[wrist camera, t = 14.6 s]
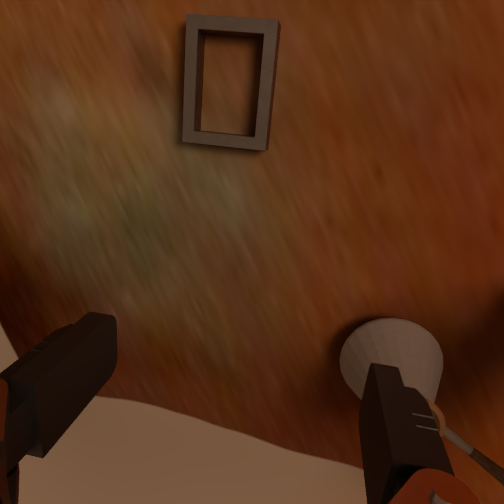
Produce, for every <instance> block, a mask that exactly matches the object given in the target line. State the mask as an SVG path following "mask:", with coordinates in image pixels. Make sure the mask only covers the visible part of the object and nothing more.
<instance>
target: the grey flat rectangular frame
mask: <svg viewBox="0 0 504 504" xmlns="http://www.w3.org/2000/svg"><path fill="white" fill-rule="evenodd" d="M280 29H281V25H280V23H279V20H273V19H258V18H243V17H228V16H213V15H198V14H186V43H185V74H184V105H183V135H182V142H189V143H198V144H207V145H217V146H226V147H235V148H244V149H253V150H263V151H266V150H268V146H269V137H270V127H271V117H272V107H273V98H274V88H275V78H276V68H277V59H278V49H279V39H280ZM205 34H211V35H225V36H239V37H252V38H264V43H263V54H262V65H261V76H260V87H259V98H258V109H257V120H256V131H255V136H248V135H238V134H229V133H219V132H209V131H200V130H201V109H202V88H203V66H204V45H205Z"/></svg>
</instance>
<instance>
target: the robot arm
mask: <svg viewBox="0 0 504 504" xmlns="http://www.w3.org/2000/svg"><path fill="white" fill-rule="evenodd" d="M116 363H117V326H116V319H115V317H114V316H113V315H107V314H102V313H96V312H89V313H87V314H86V315H85V316H83V317H82V318H81V319H80V320H79V321H77V322H76V323H75V324H69V325H67V326H65V327H62V328H60V329H58V330H55V331H54V332H52V333H51V334H50V335H49V336H47V337H46V338H45V339H43V340H42V343H41V342H40V343H38V344H37V345H36V346H34V347H33V348H32V350H29V351H28V352H27V353H26V354H24V355H23V356H22V357H20V358H19V359H18V360H17V361H15V362H14V363H13V364H12V365H10V366H9V367H8V368H7V369H5V370H4V371H3V372H1V373H0V504H18V497H19V461H20V460H21V459H22V458H23V457H24V456H25V455H26V454H27V455H31V456H35V457H40V458H44V456H45V455H46V454H47V453H48V452H49V450H50V449H51V448H52V447H53V446H54V445H55V443H56V442H57V441H58V440H59V438H60V437H61V436H62V435H63V434H64V432H65V431H66V430H67V429H68V428H69V427H70V425H71V424H72V423H73V422H74V421H75V419H76V418H77V417H78V416H79V414H80V413H81V412H82V411H83V410H84V408H85V407H86V406H87V405H88V404H89V402H90V401H91V400H92V398H93V397H94V396H95V395H96V394H97V393H98V392H99V390H100V389H101V388H102V387H103V386H104V384H105V383H106V382H107V381H108V380H109V378H110V377H111V376H112V374H113V372H114V370H115V367H116ZM359 433H360V442H361V451H362V460H363V469H364V478H365V487H366V496H367V504H480V502H479V500H478V498H477V497H476V496H475V494H474V493H473V492H472V491H471V489H470V488H469V487H468V486H466V485H465V484H464V483H463V482H462V481H460V480H459V479H458V478H456V477H455V475H454V472H453V469H452V466H451V464H450V461H449V458H448V455H447V453H446V450H445V447H444V445H443V442H442V439H441V436H440V434H439V432H438V428H437V425H436V423H435V420H434V419H433V414H432V412H431V409H430V406H429V403H428V402H427V400H426V399H425V398H424V397H423V396H422V395H421V394H420V392H419V391H418V390H417V389H416V388H411V387H406V386H404V384H403V381H402V377H401V374H400V371H399V368H398V367H394V366H389V365H383V364H378V363H371V364H370V367H369V370H368V374H367V379H366V383H365V387H364V392H363V396H362V400H361V405H360V411H359Z"/></svg>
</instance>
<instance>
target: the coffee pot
mask: <svg viewBox="0 0 504 504" xmlns="http://www.w3.org/2000/svg"><path fill="white" fill-rule="evenodd" d="M339 361H340V369H341V373H342V375H343V377H344V380H345V382H346V383H347V385H348V386H349V387H350V388H351V389H352V391H353V392H354V393H355V394H356V395H357V396H358V397H359V398H360V399H361V400H362V396H363V392H364V387H365V383H366V379H367V374H368V370H369V367H370V364H371V363H378V364H383V365H389V366H394V367H398V368H399V371H400V374H401V377H402V381H403V384H404V386H406V387H411V388H416V389H417V390H418V391H419V392H420V394H421V395H422V396H423V397H424V398H425V399H426V400H427V402H428V403H429V406H430V409H431V412H432V414H433V419H434V420H435V423H436V425H437V428H438V432H439V434H440V436H441V438H442V437H443V435H444V436H445V437H447V438H448V439H449V440H451V441H452V442H453V443H454V444H456V445H457V446H458V447H460V448H461V449H462V450H464V451H465V452H466V453H468V455H469V456H470V457H471V458H472V459H474V460H475V461H476V462H477V463H478V464H479V465H480V466H482V467H483V468H484V469H485V470H486V471H487V472H489V473H490V474H491V475H492V476H493V477H494V478H495V479H497V480H498V481H499V482H500V483H501V484H502V485H504V469H503V468H502V467H500V466H499V465H497V464H496V463H495V462H493V461H492V460H490V459H489V458H488V457H486V456H485V455H483V454H482V453H481V452H479V451H478V450H476V449H475V448H473V447H471V446H470V445H469V444H468V443H466V442H465V441H464V440H463V439H462V438H460V437H459V436H458V435H457V434H455V433H454V432H453V431H452V430H451V429H449V428H448V427H447V426H446V425H445V418H444V415H443V413H442V411H441V410H440V409H439V408H438V406H437V405H435V404H434V402H435V398H436V394H437V391H438V387H439V383H440V379H441V375H442V371H443V354H442V351H441V348H440V346H439V343H438V342H437V341H436V339H435V338H434V337H433V336H432V334H431V333H430V332H428V331H427V330H426V329H424V328H423V327H422V326H420V325H418V324H416V323H413V322H411V321H408V320H406V319H400V318H393V317H389V318H378V319H375V320H372V321H369V322H366V323H365V324H363V325H361V326H360V327H358V328H357V329H356V330H355V331H354V332H353V333H352V334H351V335H350V336H349V337H348V338H347V340H346V341H345V343H344V345H343V347H342V350H341V355H340V360H339Z"/></svg>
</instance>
